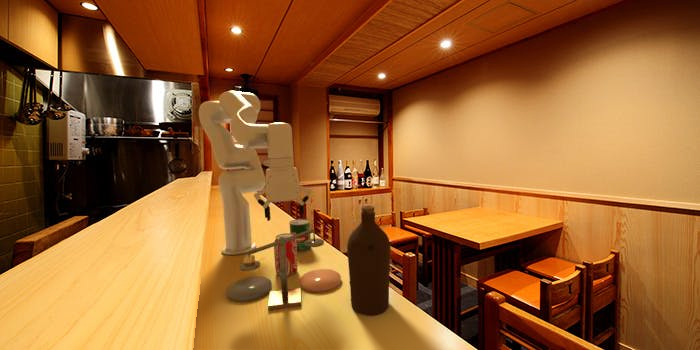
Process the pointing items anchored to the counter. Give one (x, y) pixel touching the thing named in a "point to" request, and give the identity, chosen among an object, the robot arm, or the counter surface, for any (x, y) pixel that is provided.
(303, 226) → the canned tomato
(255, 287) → the dish low
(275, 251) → the soda can
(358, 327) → the counter surface
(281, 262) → the balance
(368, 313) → the olive oil
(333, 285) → the dish high
